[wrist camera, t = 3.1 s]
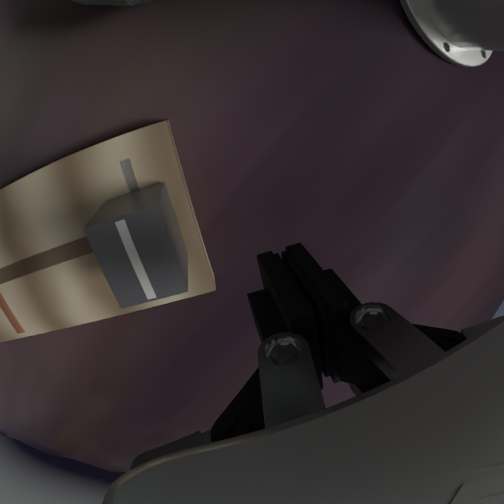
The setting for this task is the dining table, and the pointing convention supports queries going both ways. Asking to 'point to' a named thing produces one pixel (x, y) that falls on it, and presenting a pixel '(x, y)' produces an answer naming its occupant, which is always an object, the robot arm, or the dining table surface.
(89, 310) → the fader board
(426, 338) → the robot arm
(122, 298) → the fader knob
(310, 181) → the dining table surface
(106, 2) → the mortar and pestle
